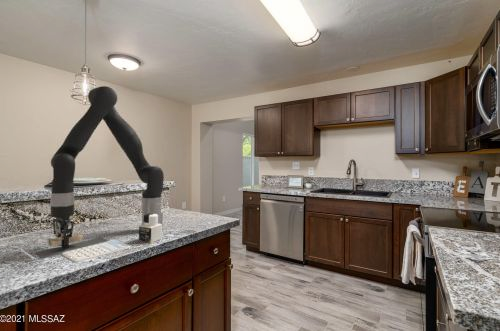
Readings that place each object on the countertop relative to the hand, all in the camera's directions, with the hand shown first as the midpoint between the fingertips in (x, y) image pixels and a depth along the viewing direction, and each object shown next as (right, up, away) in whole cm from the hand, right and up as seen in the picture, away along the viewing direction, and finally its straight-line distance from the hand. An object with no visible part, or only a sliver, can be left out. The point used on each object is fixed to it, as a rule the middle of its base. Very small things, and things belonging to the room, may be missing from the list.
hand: (62, 246), depth 98 cm
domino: (+3, +3, +5) cm, 7 cm away
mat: (+3, -1, +3) cm, 4 cm away
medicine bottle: (+29, -2, +14) cm, 33 cm away
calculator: (+14, -2, -1) cm, 15 cm away
